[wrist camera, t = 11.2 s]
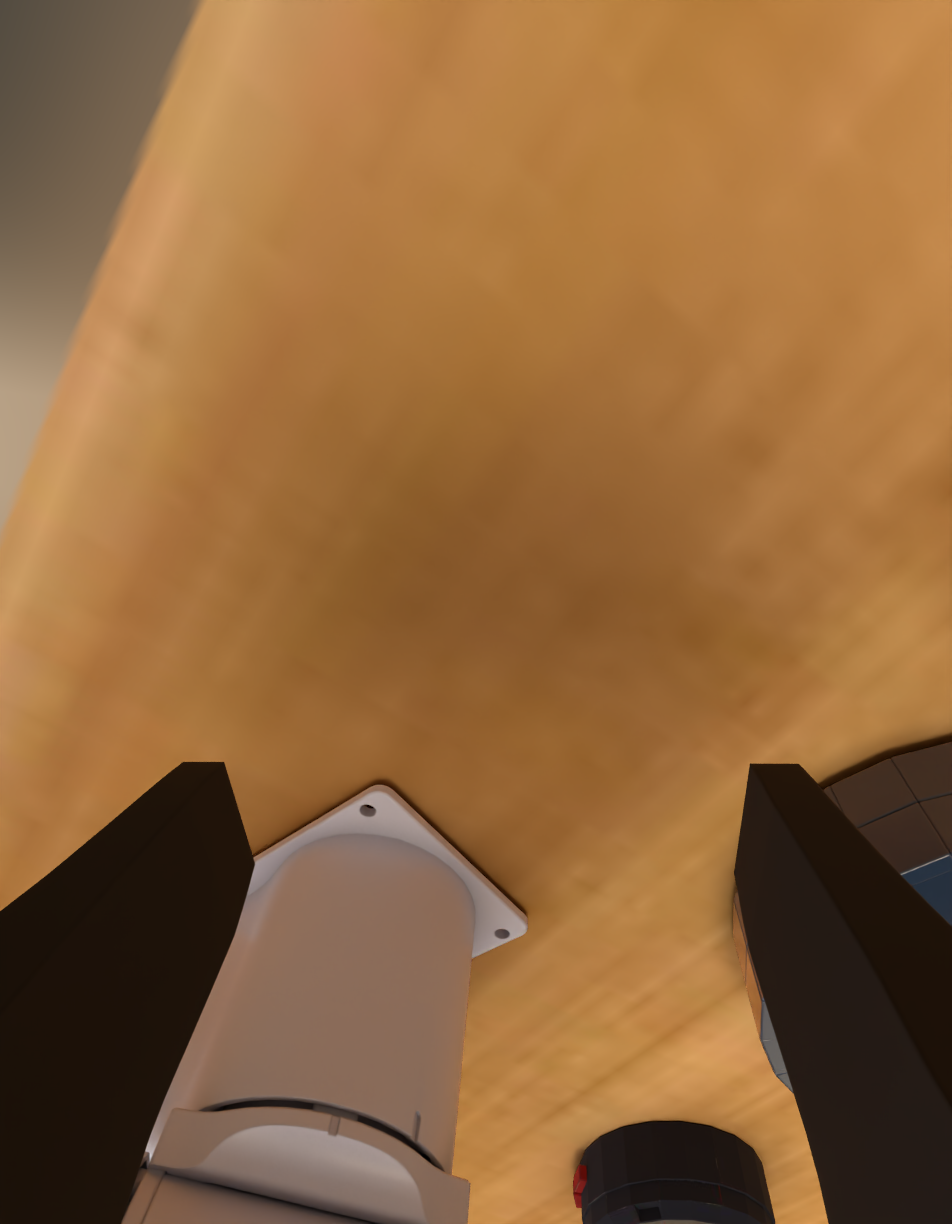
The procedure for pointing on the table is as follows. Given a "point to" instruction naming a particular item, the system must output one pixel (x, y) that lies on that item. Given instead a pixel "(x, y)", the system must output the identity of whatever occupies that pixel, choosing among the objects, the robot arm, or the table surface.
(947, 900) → the pan
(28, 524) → the table surface
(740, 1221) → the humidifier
